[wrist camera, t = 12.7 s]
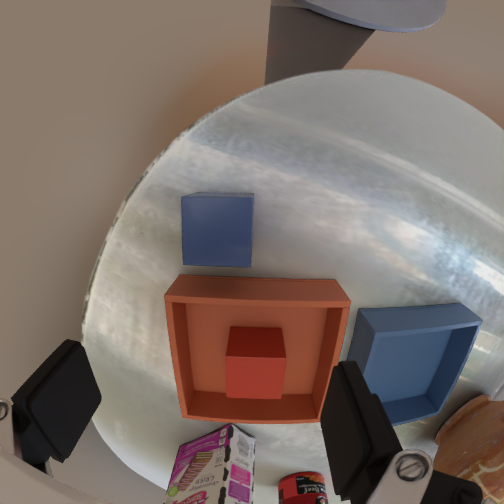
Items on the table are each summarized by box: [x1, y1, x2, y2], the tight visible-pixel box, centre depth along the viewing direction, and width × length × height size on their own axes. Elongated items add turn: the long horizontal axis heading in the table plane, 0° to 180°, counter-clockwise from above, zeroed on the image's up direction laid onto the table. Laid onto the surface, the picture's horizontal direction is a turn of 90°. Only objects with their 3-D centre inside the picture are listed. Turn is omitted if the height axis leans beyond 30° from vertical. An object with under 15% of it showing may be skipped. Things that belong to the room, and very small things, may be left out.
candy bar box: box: [163, 424, 255, 504], centre depth 23 cm, size 11×5×16 cm, turn 132°
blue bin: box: [347, 303, 483, 426], centre depth 25 cm, size 14×14×5 cm
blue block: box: [181, 193, 254, 268], centre depth 21 cm, size 5×5×5 cm
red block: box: [225, 326, 287, 399], centre depth 23 cm, size 5×5×5 cm
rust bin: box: [164, 275, 351, 424], centre depth 24 cm, size 14×14×5 cm
